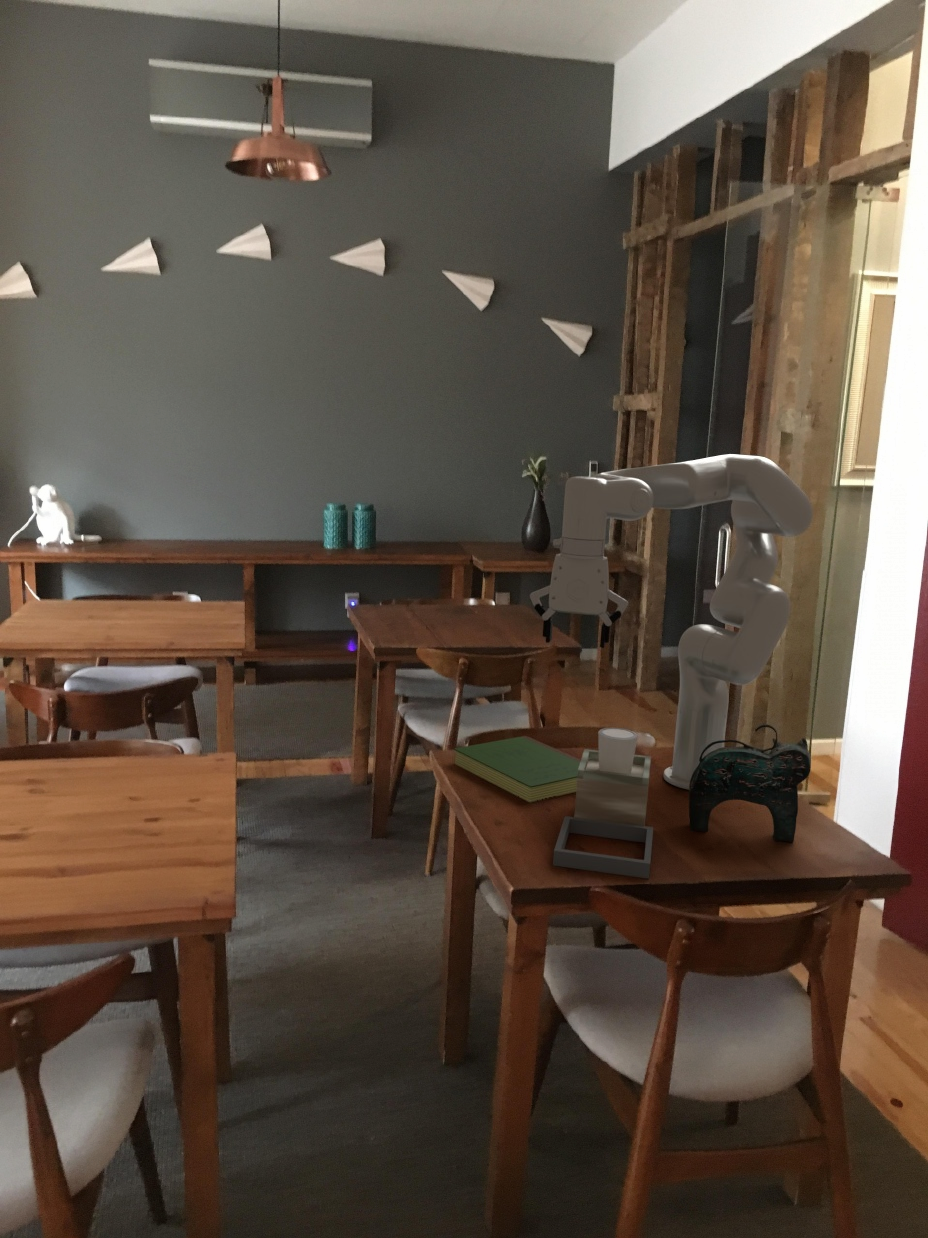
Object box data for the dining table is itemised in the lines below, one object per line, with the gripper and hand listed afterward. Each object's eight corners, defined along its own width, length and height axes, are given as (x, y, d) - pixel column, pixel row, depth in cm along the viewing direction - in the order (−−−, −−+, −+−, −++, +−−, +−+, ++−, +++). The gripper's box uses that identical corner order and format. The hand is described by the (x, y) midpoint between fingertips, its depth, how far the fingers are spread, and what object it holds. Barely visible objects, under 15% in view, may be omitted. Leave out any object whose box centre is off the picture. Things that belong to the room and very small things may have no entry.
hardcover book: (603, 788, 197) (605, 770, 197) (529, 805, 186) (530, 786, 186) (522, 751, 217) (523, 734, 216) (451, 765, 206) (451, 747, 205)
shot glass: (633, 779, 175) (637, 740, 174) (593, 775, 176) (596, 736, 175) (635, 767, 182) (638, 729, 180) (596, 762, 183) (599, 725, 182)
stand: (580, 803, 188) (584, 749, 186) (646, 811, 185) (651, 756, 183) (573, 827, 176) (577, 770, 174) (643, 836, 174) (648, 778, 172)
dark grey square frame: (563, 829, 175) (564, 816, 174) (652, 841, 172) (653, 827, 171) (552, 865, 160) (554, 850, 160) (648, 878, 157) (650, 863, 157)
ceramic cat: (800, 834, 178) (814, 725, 174) (805, 849, 172) (818, 736, 168) (685, 820, 182) (695, 713, 178) (685, 834, 176) (696, 723, 172)
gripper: (530, 546, 175) (524, 643, 178) (631, 554, 172) (623, 653, 175) (536, 542, 182) (530, 635, 186) (633, 549, 179) (625, 644, 182)
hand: (575, 643), depth 180 cm, fingers open, 9 cm apart
